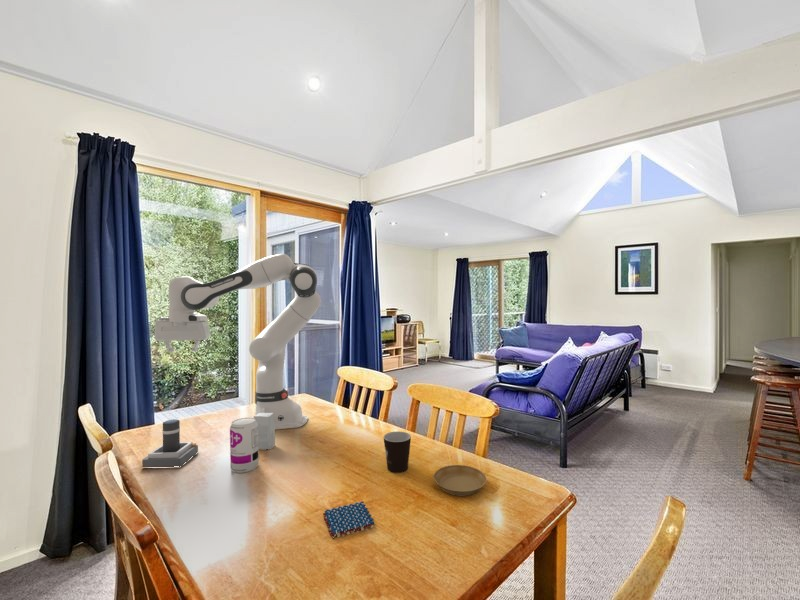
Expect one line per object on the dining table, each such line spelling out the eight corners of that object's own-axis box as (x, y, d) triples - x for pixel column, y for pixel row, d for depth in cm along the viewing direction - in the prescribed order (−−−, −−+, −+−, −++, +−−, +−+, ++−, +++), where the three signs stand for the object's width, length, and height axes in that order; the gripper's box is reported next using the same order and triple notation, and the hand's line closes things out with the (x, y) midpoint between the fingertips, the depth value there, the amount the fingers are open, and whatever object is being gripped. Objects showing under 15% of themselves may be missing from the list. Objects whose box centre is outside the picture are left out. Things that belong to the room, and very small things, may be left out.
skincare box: (275, 445, 137) (274, 412, 136) (270, 450, 132) (269, 416, 132) (259, 444, 137) (258, 412, 137) (253, 449, 133) (253, 416, 133)
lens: (182, 448, 127) (182, 418, 127) (175, 454, 122) (175, 423, 122) (167, 449, 127) (167, 419, 127) (159, 455, 122) (159, 423, 122)
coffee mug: (408, 475, 112) (408, 442, 111) (380, 473, 113) (380, 440, 113) (415, 459, 123) (414, 428, 123) (389, 457, 125) (389, 427, 125)
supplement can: (239, 476, 113) (238, 427, 113) (225, 469, 118) (224, 422, 118) (263, 466, 119) (262, 420, 119) (249, 460, 124) (248, 415, 124)
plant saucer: (475, 506, 96) (475, 496, 95) (424, 491, 103) (424, 482, 103) (493, 481, 108) (493, 472, 108) (446, 469, 116) (446, 460, 116)
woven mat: (322, 517, 93) (321, 509, 93) (363, 507, 97) (362, 499, 97) (330, 542, 83) (330, 533, 83) (376, 530, 87) (375, 521, 87)
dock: (198, 453, 131) (197, 440, 130) (180, 467, 120) (180, 454, 119) (163, 454, 130) (162, 441, 130) (142, 469, 119) (142, 455, 119)
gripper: (150, 318, 145) (151, 353, 146) (203, 317, 146) (204, 352, 146) (160, 317, 152) (161, 350, 152) (211, 316, 152) (212, 349, 153)
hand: (182, 351), depth 149 cm, fingers open, 8 cm apart
